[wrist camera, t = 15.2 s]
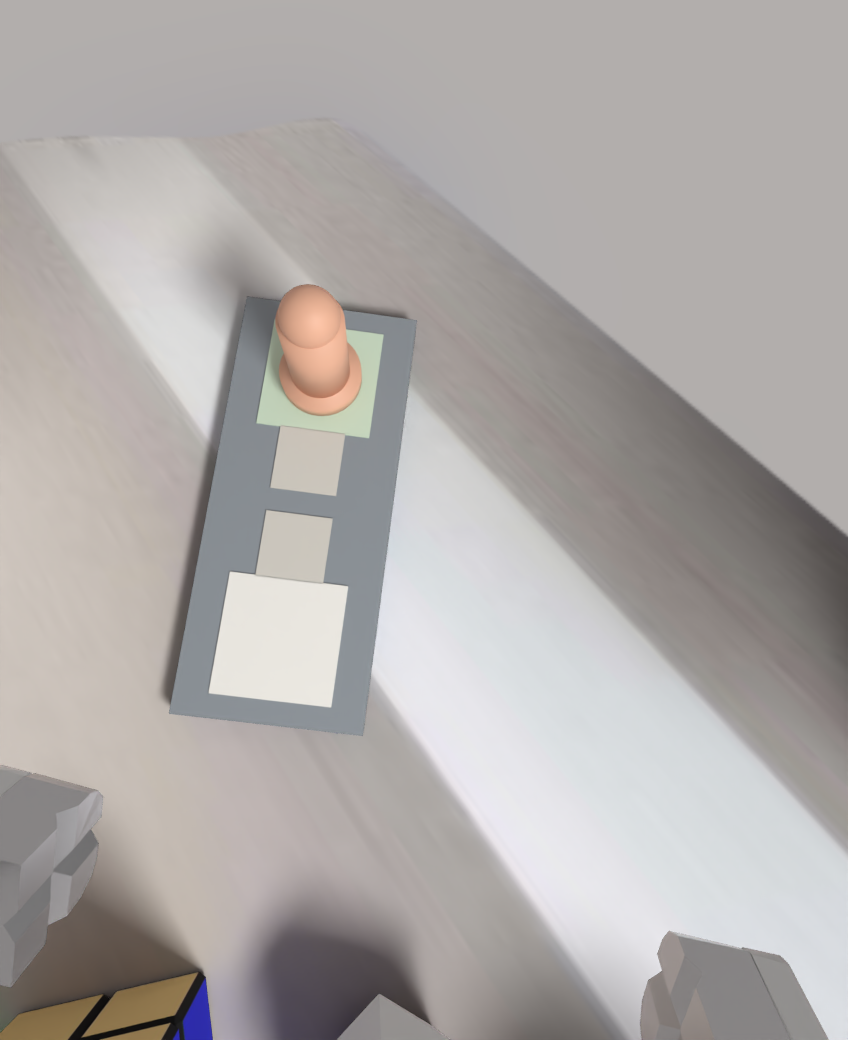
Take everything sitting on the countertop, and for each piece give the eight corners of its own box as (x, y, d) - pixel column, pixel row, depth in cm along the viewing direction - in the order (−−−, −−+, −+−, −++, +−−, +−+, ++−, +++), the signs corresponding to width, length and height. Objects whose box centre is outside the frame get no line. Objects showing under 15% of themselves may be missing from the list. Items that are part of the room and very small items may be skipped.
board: (416, 329, 44) (417, 319, 43) (363, 733, 39) (362, 736, 38) (250, 305, 44) (246, 295, 43) (175, 711, 39) (168, 713, 37)
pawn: (359, 340, 43) (354, 254, 33) (363, 414, 42) (359, 347, 32) (280, 342, 42) (253, 256, 33) (282, 417, 41) (255, 350, 32)
